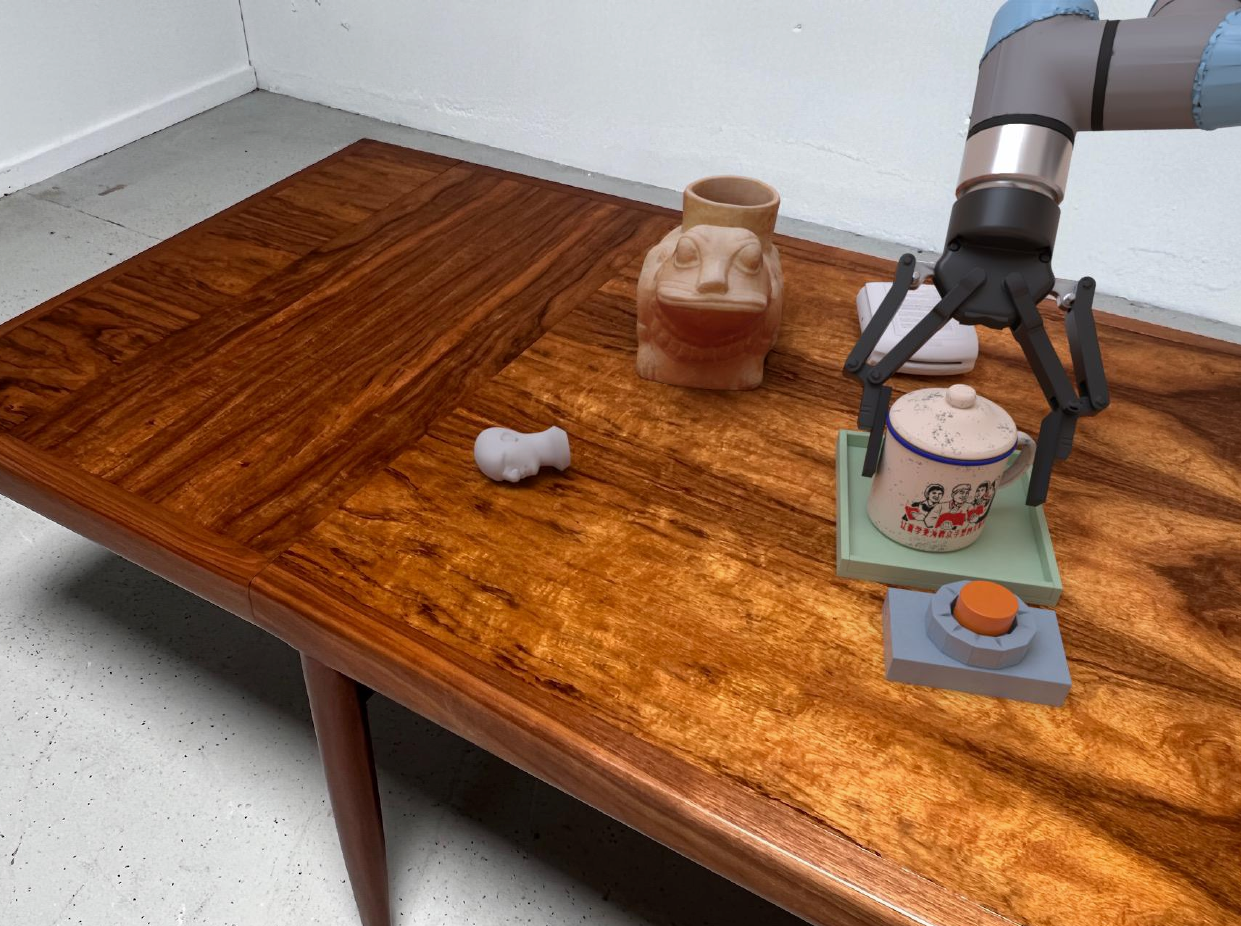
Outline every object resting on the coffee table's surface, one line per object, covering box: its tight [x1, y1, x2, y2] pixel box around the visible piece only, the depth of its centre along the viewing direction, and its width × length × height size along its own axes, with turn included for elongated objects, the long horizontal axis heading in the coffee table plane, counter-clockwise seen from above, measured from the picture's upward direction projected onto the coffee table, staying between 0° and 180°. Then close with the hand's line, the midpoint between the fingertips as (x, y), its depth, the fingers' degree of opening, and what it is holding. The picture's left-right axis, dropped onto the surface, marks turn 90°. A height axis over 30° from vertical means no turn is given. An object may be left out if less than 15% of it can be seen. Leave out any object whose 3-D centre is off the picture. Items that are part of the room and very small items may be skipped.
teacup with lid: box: [867, 383, 1037, 552], centre depth 80 cm, size 12×9×12 cm
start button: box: [954, 581, 1019, 637], centre depth 70 cm, size 4×4×2 cm
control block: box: [881, 580, 1073, 708], centre depth 72 cm, size 11×7×4 cm, turn 77°
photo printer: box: [855, 281, 979, 376], centre depth 103 cm, size 10×4×12 cm
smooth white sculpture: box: [473, 425, 572, 483], centre depth 88 cm, size 4×8×5 cm
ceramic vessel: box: [635, 174, 785, 391], centre depth 101 cm, size 14×26×15 cm, turn 167°
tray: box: [834, 428, 1064, 608], centre depth 84 cm, size 15×17×2 cm
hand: (950, 488), depth 79 cm, fingers closed on teacup with lid, 11 cm apart
